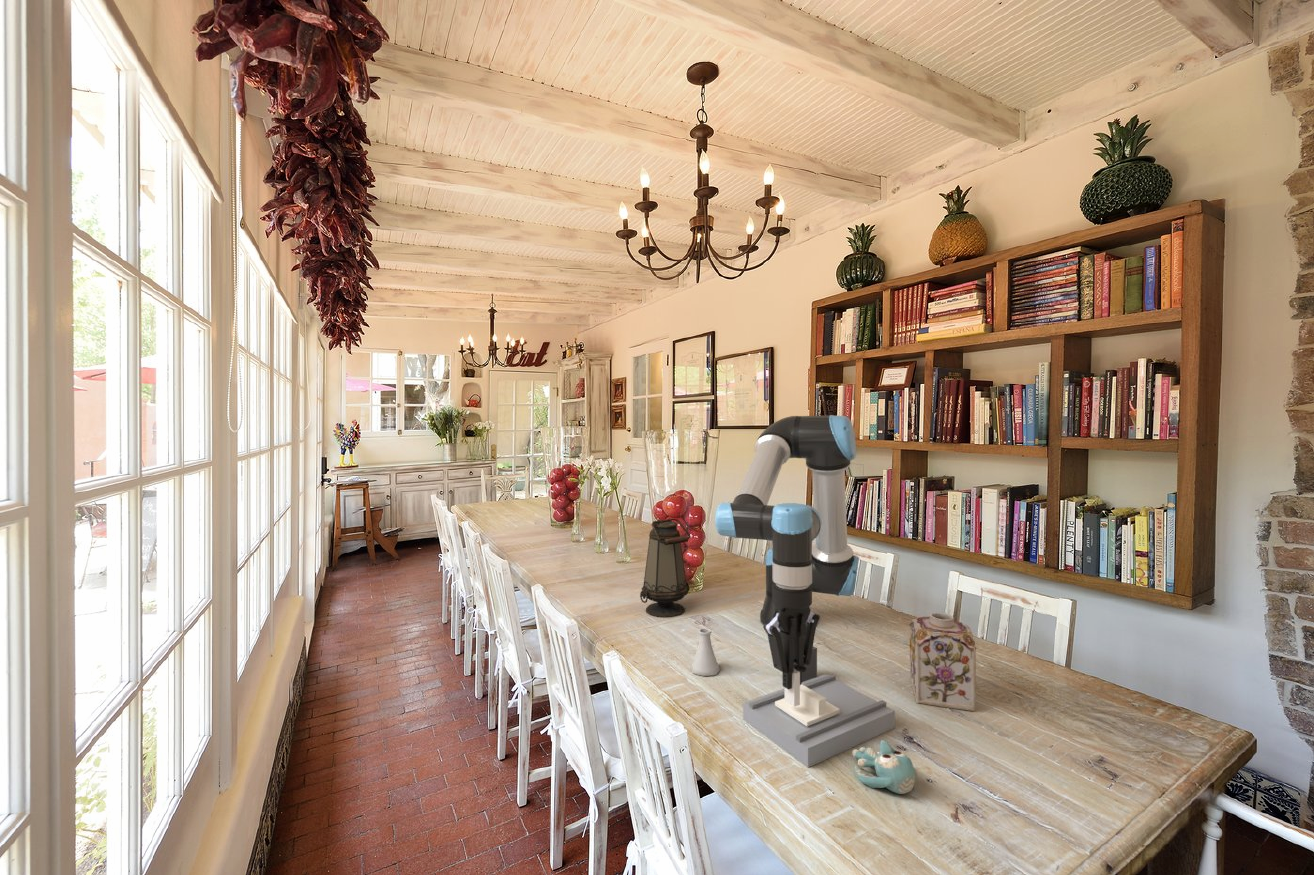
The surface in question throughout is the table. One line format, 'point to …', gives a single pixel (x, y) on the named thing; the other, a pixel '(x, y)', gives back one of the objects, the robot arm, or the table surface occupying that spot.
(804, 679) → the plug
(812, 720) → the white finned plate
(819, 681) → the grey railed block
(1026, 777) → the table surface
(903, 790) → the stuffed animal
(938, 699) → the decorative jar
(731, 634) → the table surface
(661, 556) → the lantern
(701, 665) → the flask
